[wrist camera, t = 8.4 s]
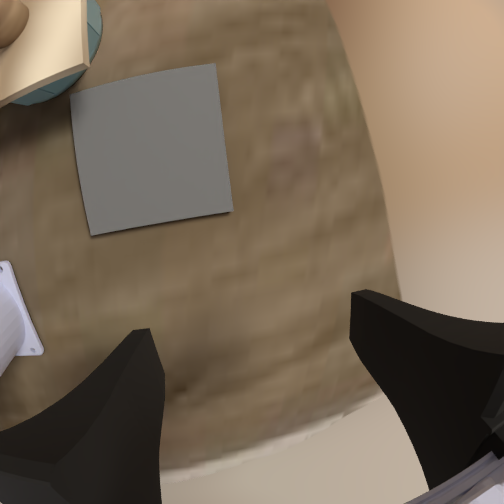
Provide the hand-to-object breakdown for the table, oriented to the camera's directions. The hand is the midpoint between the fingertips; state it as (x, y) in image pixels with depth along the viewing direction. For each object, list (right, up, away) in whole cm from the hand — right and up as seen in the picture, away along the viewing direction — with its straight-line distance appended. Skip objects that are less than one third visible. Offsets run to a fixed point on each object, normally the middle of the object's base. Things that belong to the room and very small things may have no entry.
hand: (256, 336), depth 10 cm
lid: (-13, +15, -1) cm, 20 cm away
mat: (-6, +9, +7) cm, 13 cm away
